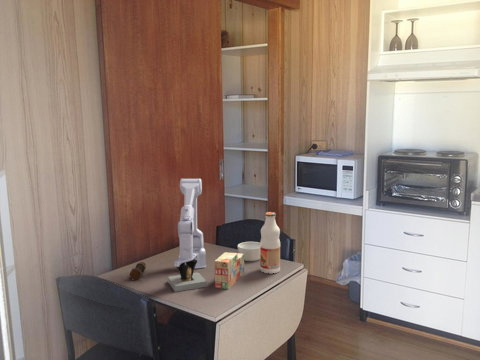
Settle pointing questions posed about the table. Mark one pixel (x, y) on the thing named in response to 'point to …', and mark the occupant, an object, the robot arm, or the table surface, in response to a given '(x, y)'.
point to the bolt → (137, 271)
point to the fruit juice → (270, 245)
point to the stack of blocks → (228, 269)
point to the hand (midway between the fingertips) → (187, 277)
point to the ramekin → (250, 250)
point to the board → (187, 282)
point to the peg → (188, 275)
